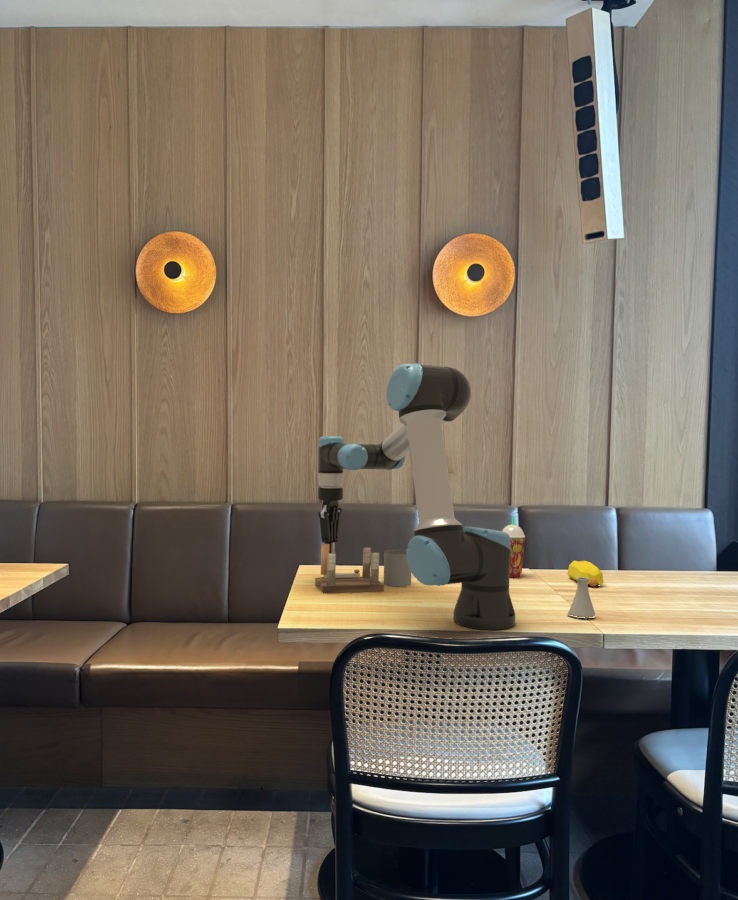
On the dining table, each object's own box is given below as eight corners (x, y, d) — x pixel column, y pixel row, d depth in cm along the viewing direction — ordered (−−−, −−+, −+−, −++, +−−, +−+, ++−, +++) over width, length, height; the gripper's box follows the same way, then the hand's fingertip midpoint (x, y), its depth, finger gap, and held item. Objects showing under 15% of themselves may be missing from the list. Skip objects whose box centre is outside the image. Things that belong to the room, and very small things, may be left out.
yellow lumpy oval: (582, 588, 215) (606, 589, 215) (583, 567, 215) (607, 567, 215) (564, 577, 233) (586, 577, 233) (564, 557, 233) (587, 557, 233)
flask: (573, 611, 184) (575, 574, 184) (600, 616, 180) (601, 578, 180) (562, 616, 179) (563, 578, 179) (589, 622, 174) (591, 582, 174)
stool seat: (383, 591, 202) (384, 553, 201) (323, 593, 197) (324, 554, 197) (372, 582, 213) (373, 547, 213) (314, 584, 209) (315, 547, 208)
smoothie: (493, 574, 233) (495, 514, 232) (515, 573, 235) (517, 514, 235) (505, 579, 225) (508, 517, 224) (528, 578, 227) (530, 517, 227)
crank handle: (360, 577, 209) (361, 544, 209) (321, 578, 206) (322, 544, 206) (357, 575, 211) (358, 543, 211) (319, 576, 208) (320, 543, 208)
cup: (411, 582, 216) (412, 550, 216) (410, 588, 208) (411, 554, 207) (384, 581, 217) (385, 549, 216) (382, 586, 208) (383, 553, 208)
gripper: (327, 484, 218) (326, 559, 219) (310, 487, 206) (309, 566, 207) (349, 485, 216) (348, 561, 216) (333, 489, 203) (332, 568, 204)
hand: (329, 563), depth 212 cm, fingers closed
